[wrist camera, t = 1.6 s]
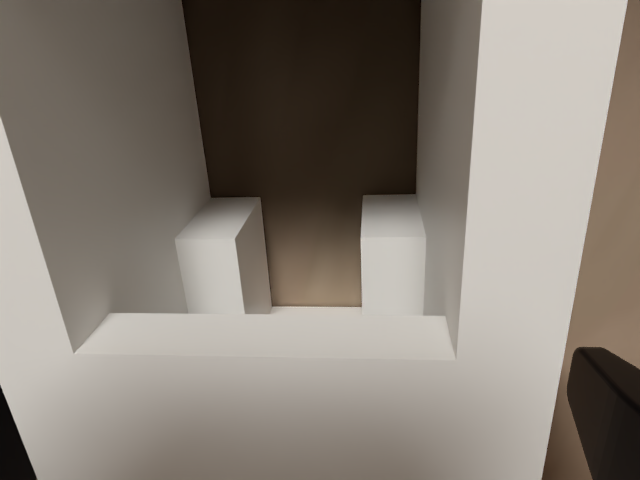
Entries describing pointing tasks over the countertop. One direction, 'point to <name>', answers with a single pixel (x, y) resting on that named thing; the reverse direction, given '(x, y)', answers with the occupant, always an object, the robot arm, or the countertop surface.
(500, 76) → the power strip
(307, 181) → the countertop surface
